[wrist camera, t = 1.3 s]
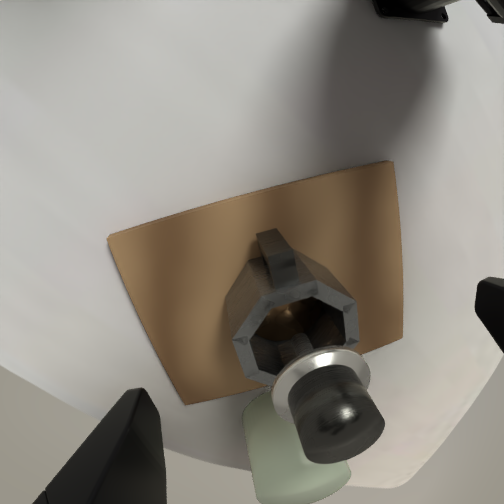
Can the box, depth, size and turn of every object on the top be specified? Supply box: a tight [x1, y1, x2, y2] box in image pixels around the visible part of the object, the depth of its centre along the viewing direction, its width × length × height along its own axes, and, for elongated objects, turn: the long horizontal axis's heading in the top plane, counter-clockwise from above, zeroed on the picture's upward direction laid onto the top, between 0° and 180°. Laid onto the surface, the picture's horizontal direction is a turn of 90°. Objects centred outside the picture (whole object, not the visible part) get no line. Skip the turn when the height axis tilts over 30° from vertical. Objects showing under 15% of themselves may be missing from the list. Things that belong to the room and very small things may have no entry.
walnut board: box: [107, 161, 403, 405], centre depth 21 cm, size 18×14×1 cm
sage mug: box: [242, 391, 351, 504], centre depth 22 cm, size 7×9×8 cm
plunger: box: [271, 333, 385, 464], centre depth 13 cm, size 4×4×7 cm
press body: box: [225, 228, 360, 386], centre depth 18 cm, size 7×8×5 cm
